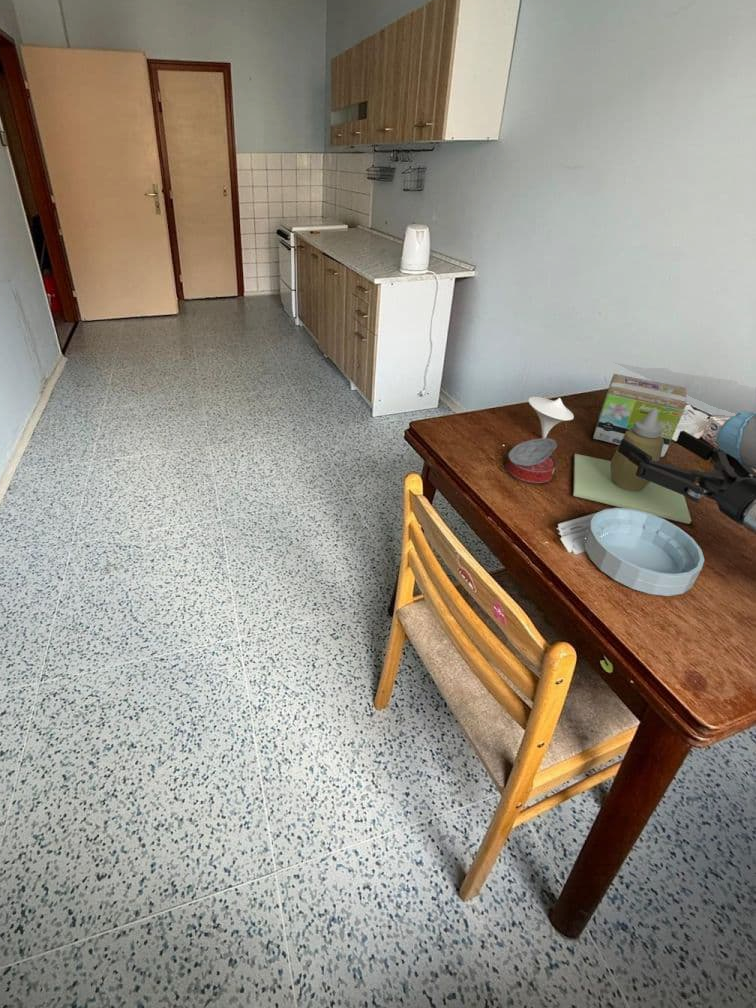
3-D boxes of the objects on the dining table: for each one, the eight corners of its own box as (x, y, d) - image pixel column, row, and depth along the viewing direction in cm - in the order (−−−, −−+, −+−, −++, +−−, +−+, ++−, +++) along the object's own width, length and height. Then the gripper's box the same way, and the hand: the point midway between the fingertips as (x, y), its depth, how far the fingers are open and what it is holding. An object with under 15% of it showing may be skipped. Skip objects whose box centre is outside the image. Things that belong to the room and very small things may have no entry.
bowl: (683, 544, 86) (693, 523, 84) (701, 612, 73) (714, 590, 71) (583, 518, 93) (590, 498, 90) (583, 577, 80) (591, 555, 78)
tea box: (591, 440, 117) (608, 386, 110) (596, 423, 125) (612, 372, 118) (664, 458, 110) (687, 402, 103) (665, 439, 117) (687, 385, 110)
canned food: (534, 500, 105) (533, 477, 98) (497, 474, 112) (494, 451, 105) (569, 467, 106) (570, 442, 99) (531, 443, 113) (529, 419, 106)
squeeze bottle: (645, 500, 95) (676, 424, 87) (600, 484, 100) (626, 410, 92) (653, 482, 101) (683, 408, 92) (610, 467, 105) (635, 396, 97)
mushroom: (556, 429, 122) (567, 388, 116) (572, 452, 113) (585, 408, 107) (515, 428, 123) (524, 387, 118) (527, 451, 114) (538, 407, 108)
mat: (676, 478, 103) (678, 475, 102) (689, 524, 90) (691, 520, 90) (573, 457, 111) (574, 453, 111) (573, 495, 99) (574, 492, 98)
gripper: (686, 539, 75) (590, 464, 93) (812, 515, 79) (696, 448, 98) (704, 502, 72) (601, 432, 90) (834, 479, 76) (710, 417, 94)
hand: (650, 440), depth 94 cm, fingers open, 13 cm apart
